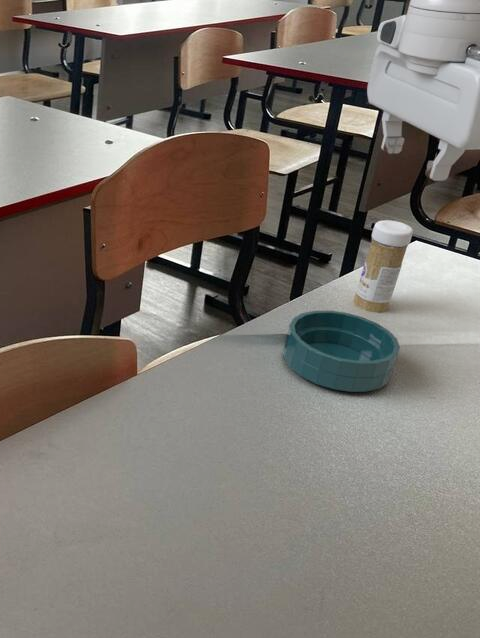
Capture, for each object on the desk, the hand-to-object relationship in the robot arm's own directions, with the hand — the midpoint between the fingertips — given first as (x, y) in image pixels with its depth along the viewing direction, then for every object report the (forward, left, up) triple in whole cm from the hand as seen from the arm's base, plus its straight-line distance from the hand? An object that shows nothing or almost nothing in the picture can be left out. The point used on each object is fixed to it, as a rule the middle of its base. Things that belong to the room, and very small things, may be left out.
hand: (411, 164), depth 87 cm
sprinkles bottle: (-4, -6, -24) cm, 25 cm away
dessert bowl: (+6, +6, -24) cm, 25 cm away
